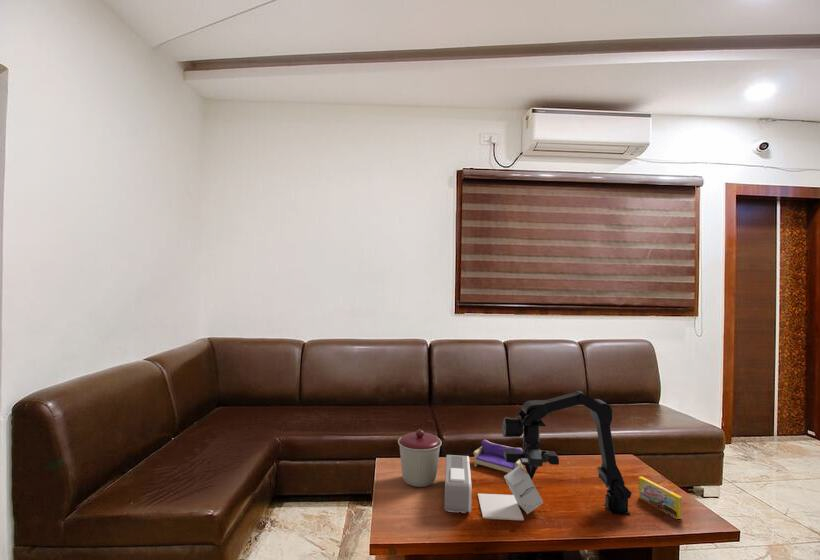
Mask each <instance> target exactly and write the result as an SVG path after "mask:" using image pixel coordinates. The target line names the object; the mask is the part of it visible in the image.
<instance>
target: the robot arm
mask: <svg viewBox="0 0 820 560" xmlns="http://www.w3.org/2000/svg"><path fill="white" fill-rule="evenodd" d="M578 405H582V406H584V407H586V408H587V409H588V410H589V412H590V415H591V418H592V420H593V421H594V423H595V427H596V432H597V439H598V444H599V445H598V446H599V451H600V456H601V457H600V458H601V465H600V466H597V467H596V468H597V471H598V479H599V480H601V482H602V483H603V484H604V485H605V487H606V494H605V503H604V506H605V507H606V508H607V509H608V510H609V512H610V513H611V514H613V515H631V512H630V511H629V499H631V496H632V494H633V493H632V491H630V490H629V488H628V487H626V485H625V480H624V478H623V475H622V473H621V471H620V469H619V468H618V465H617V460H616V454H615V447H614V441H613V437H612V431H611V430H612V429H611V424H612V422H613V408H612V406H611V405H609V404H608V403H606V402H605V401H603V400H602V399H599V398H595V399H594V398H593V397H590V396H589V395H587V394H586V393H584V392H583V391H581V390H576V391H573V392H571V393H567V394H564V395H559V396H556V397H553V398H549V399H544V400H543V399H541V400H540V399H533V400H525V402H523V405H522V406H521V410H520V411H519V412H518V413H517V414H516V416H515V417H509V416H505V417H503V421H502V424H501V431H502V436H503V438H520V437H522V451H523V453H516V451H515V449H505V450H504V457H505V460H506V462H513V463H515V462H517V461H518V459H520V461H521V463H522V465H523V466H524V468H525V471H526V472H527V473H528V474H529V476H530V478H531V480H532V481H533V479H534V476H535V474H536V471H537V470H538V468H540V467H543V464H544V463H548V464H549V465H555V466H558V465H560V458H559V456H558V455H557V453H556V452H555V450H554V451H553V450H542V449H541V443H540V432H541V431H540V430H541V429H540V428H541V427H546V425H547V424H546V423H545V422H544V421H543V420H542V419H543V418H546V416H548V415H549V414H550V413H552V412H553V413H554V412H557V411H560V410H566V409H568V408H571V407H575V406H578Z"/></svg>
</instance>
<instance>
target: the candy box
mask: <svg viewBox="0 0 820 560" xmlns="http://www.w3.org/2000/svg"><path fill="white" fill-rule="evenodd" d="M638 498H639V499H640V498H641V500H642V499H643V500H642V501H644V500H645V501H644V502H646V501H647V502H648V503H647V502H646V503H647V504H649V503H650V504H649V505H651V504H652V505H651V506H653V505H654V506H655V507H654V506H653V507H654V508H656V507H657V508H656V509H658V508H659V509H658V510H660V509H661V510H663V511H665V512H667V513H668V514H670V515H672V516H674V517H676V518H677V519H682V520H683V497H682V496H681V495H679V494H677V493H676V492H673V491H672V490H669V489H667V488H665V487H663V486H661V485H660V484H657V483H656V482H654V481H652V480H649V479H648V478H646V477H644V476H642V475H641V476H638ZM661 510H660V511H661ZM663 511H662V512H663ZM665 512H664V513H665ZM667 513H666V514H667ZM668 514H667V515H668ZM670 515H669V516H670ZM672 516H671V517H672ZM674 517H673V518H674ZM677 519H676V520H677Z"/></svg>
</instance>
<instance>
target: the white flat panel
mask: <svg viewBox="0 0 820 560" xmlns="http://www.w3.org/2000/svg"><path fill="white" fill-rule="evenodd" d="M477 497H478V502H479V506H480V512H481V514H482V519H484V518H485V519H486V520H487V519H488V520H507V521H509V520H510V521H524V520H525V518H524V515H523V513H522V510H521V509H520V508H521V507H520V506H519V505H518V503H517V501H516V499H515V497H514V495H513V494H499V493H480V492H479V493H477ZM485 519H484V520H485Z"/></svg>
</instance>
